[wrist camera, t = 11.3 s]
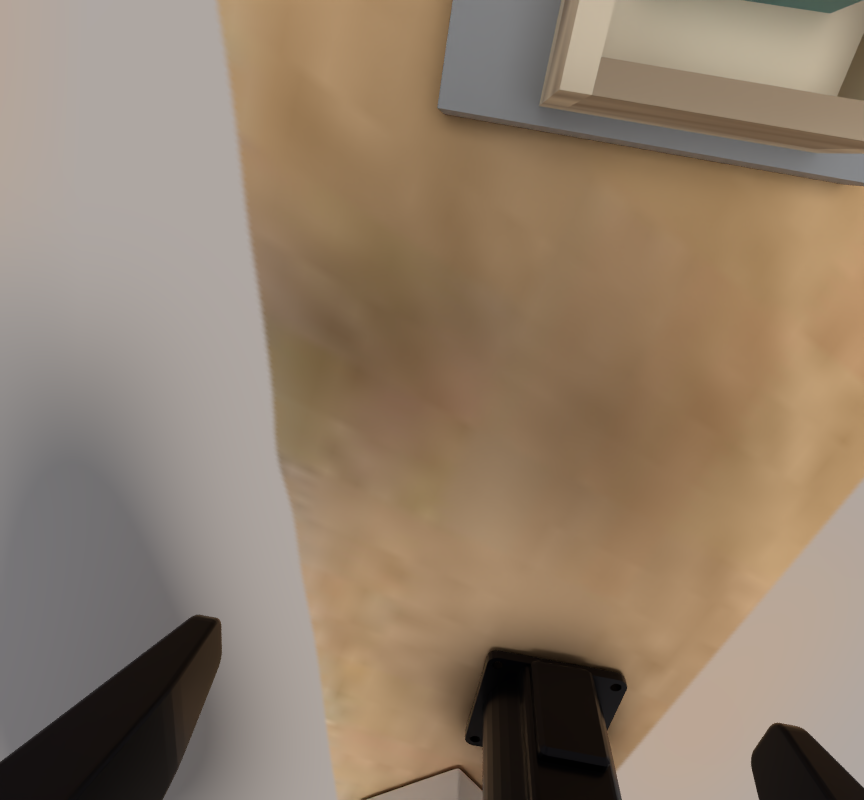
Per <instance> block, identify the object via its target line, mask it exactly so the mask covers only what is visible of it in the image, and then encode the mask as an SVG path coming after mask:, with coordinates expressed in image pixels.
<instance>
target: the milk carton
mask: <svg viewBox="0 0 864 800" xmlns="http://www.w3.org/2000/svg"><path fill="white" fill-rule="evenodd" d="M367 800H483V791H482V790H481V789H480V788H479V787H478V786H477V785H476V784H475V783H474V782H473V781H472V780H471V779H470V778H469V777H467V776H466V775H465V774H464V773H463V772H462V771H461V770H460V769H454V770H451V771H448V772H445V773H442V774H439V775H436V776H433V777H430V778H427V779H424V780H421V781H419V782H416V783H413V784H410V785H407V786H404V787H401V788H398V789H395V790H392V791H390V792H387V793H384V794H381V795H378V796H375V797H372V798H369V799H367Z"/></svg>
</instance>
